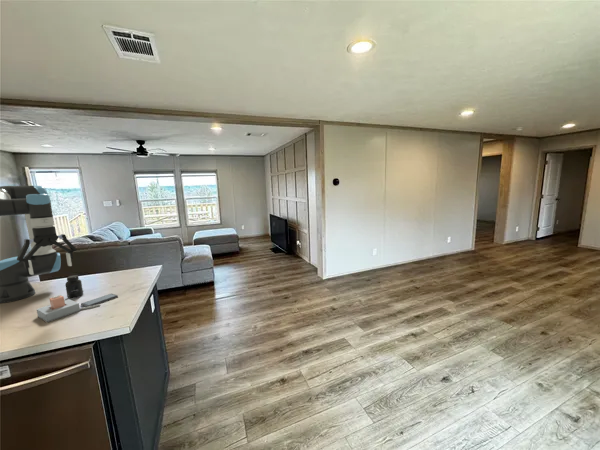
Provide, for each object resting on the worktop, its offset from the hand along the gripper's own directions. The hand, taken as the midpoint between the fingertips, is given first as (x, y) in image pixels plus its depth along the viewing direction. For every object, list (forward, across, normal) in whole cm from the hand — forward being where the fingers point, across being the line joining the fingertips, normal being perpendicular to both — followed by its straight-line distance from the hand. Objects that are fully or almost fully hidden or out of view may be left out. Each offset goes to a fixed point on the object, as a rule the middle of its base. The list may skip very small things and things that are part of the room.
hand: (51, 269), depth 118 cm
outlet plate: (+22, -1, -2) cm, 22 cm away
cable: (+22, +9, -9) cm, 25 cm away
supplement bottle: (+23, +12, +18) cm, 32 cm away
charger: (+22, -1, -2) cm, 22 cm away
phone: (+22, +15, -4) cm, 27 cm away
